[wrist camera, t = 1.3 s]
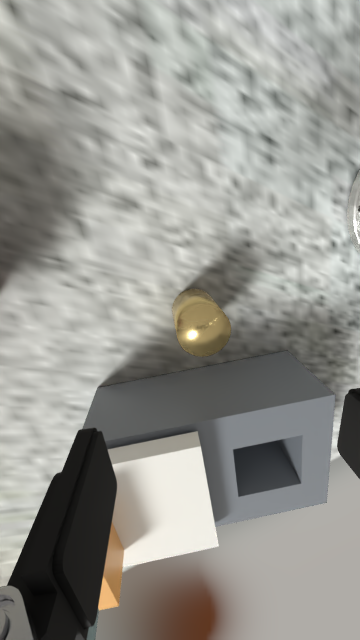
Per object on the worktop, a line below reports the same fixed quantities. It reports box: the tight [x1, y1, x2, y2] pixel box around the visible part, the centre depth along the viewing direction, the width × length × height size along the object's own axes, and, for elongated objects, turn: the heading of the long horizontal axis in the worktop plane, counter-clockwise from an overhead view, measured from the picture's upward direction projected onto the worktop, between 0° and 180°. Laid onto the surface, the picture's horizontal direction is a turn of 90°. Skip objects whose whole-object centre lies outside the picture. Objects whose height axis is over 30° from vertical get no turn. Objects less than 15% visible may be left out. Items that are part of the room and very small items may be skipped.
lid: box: [98, 431, 219, 610], centre depth 20 cm, size 10×13×5 cm
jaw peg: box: [172, 289, 231, 357], centre depth 22 cm, size 4×4×6 cm
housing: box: [83, 351, 335, 527], centre depth 26 cm, size 22×14×8 cm, turn 99°
